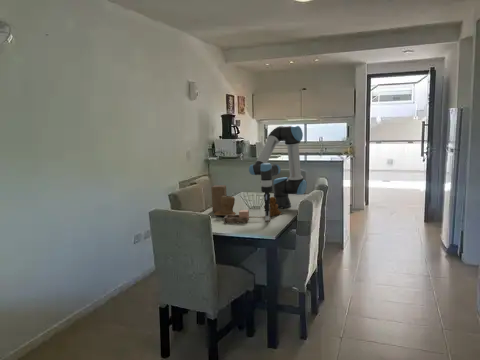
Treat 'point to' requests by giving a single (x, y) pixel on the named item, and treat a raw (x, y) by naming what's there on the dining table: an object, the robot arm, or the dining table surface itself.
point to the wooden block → (217, 196)
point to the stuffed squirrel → (274, 207)
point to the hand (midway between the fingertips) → (267, 219)
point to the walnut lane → (234, 219)
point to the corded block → (246, 215)
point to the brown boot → (226, 206)
